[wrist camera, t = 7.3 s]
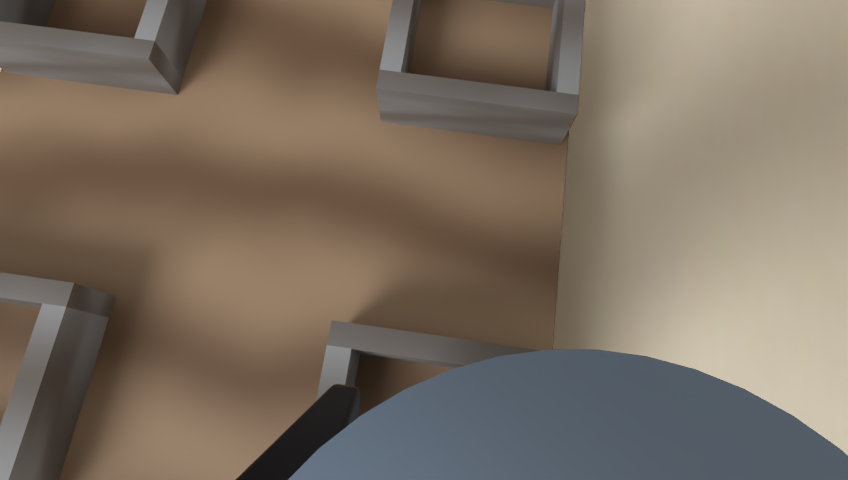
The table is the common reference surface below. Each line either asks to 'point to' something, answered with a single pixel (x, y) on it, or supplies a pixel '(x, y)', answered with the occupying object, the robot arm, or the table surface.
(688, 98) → the table surface
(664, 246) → the table surface
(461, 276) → the four-cup wooden tray
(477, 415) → the stool leg
